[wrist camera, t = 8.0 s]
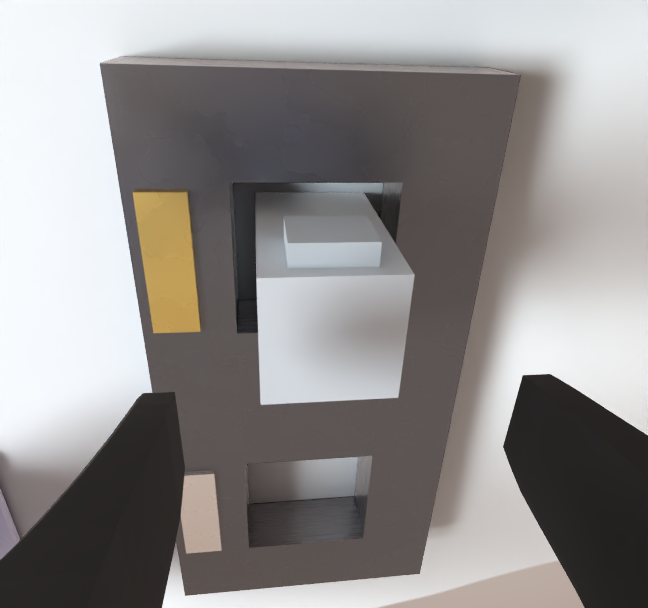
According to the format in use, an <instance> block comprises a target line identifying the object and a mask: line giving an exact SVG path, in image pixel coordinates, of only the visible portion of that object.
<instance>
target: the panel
mask: <svg viewBox="0 0 648 608" xmlns="http://www.w3.org/2000/svg"><path fill="white" fill-rule="evenodd" d="M100 68H101V74H102V80H103V87H104V93H105V99H106V105H107V112H108V118H109V124H110V130H111V136H112V143H113V149H114V155H115V161H116V168H117V174H118V180H119V186H120V193H121V199H122V205H123V211H124V217H125V224H126V230H127V236H128V242H129V249H130V255H131V261H132V267H133V274H134V280H135V286H136V292H137V298H138V305H139V311H140V317H141V323H142V330H143V336H144V342H145V348H146V355H147V361H148V367H149V373H150V379H151V386H152V392H153V393H163V392H175V396H176V404H177V411H178V419H179V426H180V434H181V441H182V449H183V456H184V464H185V474H184V485H183V497H182V507H181V517H180V522H179V527H178V532H177V537H176V541H177V548H178V554H179V560H180V566H181V573H182V579H183V585H184V591H185V596H186V595H197V594H208V593H218V592H229V591H240V590H250V589H261V588H272V587H283V586H293V585H304V584H315V583H325V582H336V581H347V580H357V579H368V578H379V577H390V576H400V575H411V574H420V570H421V565H422V560H423V555H424V550H425V545H426V540H427V535H428V530H429V526H430V521H431V516H432V511H433V506H434V501H435V496H436V491H437V486H438V481H439V476H440V471H441V466H442V461H443V456H444V452H445V447H446V442H447V437H448V432H449V427H450V422H451V417H452V412H453V407H454V402H455V397H456V392H457V387H458V383H459V378H460V373H461V368H462V363H463V358H464V353H465V348H466V343H467V338H468V333H469V328H470V323H471V318H472V313H473V309H474V304H475V299H476V294H477V289H478V284H479V279H480V274H481V269H482V264H483V259H484V254H485V249H486V244H487V240H488V235H489V230H490V225H491V220H492V215H493V210H494V205H495V200H496V195H497V190H498V185H499V180H500V175H501V170H502V166H503V161H504V156H505V151H506V146H507V141H508V136H509V131H510V126H511V121H512V116H513V111H514V106H515V101H516V97H517V92H518V87H519V82H520V77H521V75H519V74H514V73H510V72H505V71H501V70H496V69H492V68H486V67H452V66H419V65H385V64H351V63H317V62H283V61H249V60H215V59H181V58H147V57H118V58H115V59H112V60H108V61H105V62H102V63H100ZM233 182H236V183H383V194H382V205H381V216H380V219H381V221H382V223H383V224H384V226H385V228H386V229H387V231H388V232H389V234H390V236H391V237H392V239H393V241H394V242H395V244H396V245H397V247H398V249H399V250H400V252H401V253H402V255H403V257H404V258H405V260H406V262H407V263H408V265H409V266H410V268H411V270H412V271H413V273H414V274H415V275H414V283H413V290H412V298H411V305H410V313H409V321H408V328H407V336H406V343H405V351H404V358H403V366H402V373H401V381H400V389H399V396H398V398H383V399H364V400H345V401H326V402H306V403H287V404H268V405H261V403H260V373H259V344H258V315H257V300H239V295H238V275H237V256H236V237H235V217H234V198H233ZM345 457H358V464H357V475H356V486H355V497H343V498H330V499H316V500H303V501H289V502H276V503H262V504H249V488H248V469H247V464H252V463H267V462H283V461H299V460H314V459H330V458H345Z"/></svg>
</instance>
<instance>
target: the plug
mask: <svg viewBox="0 0 648 608" xmlns="http://www.w3.org/2000/svg"><path fill="white" fill-rule="evenodd" d="M255 209H256V285H257V315H258V344H259V373H260V403H261V405H268V404H287V403H306V402H326V401H345V400H364V399H383V398H398V396H399V389H400V381H401V373H402V366H403V358H404V351H405V343H406V336H407V328H408V321H409V313H410V305H411V298H412V290H413V283H414V275H415V274H414V273H413V271H412V270H411V268H410V266H409V265H408V263H407V262H406V260H405V258H404V257H403V255H402V253H401V252H400V250H399V249H398V247H397V245H396V244H395V242H394V241H393V239H392V237H391V236H390V234H389V232H388V231H387V229H386V228H385V226H384V224H383V223H382V221H381V219H380V218H379V216H378V215H377V213H376V211H375V210H374V208H373V207H372V205H371V203H370V202H369V200H368V198H367V197H366V195H365V194H364V192H280V193H255Z"/></svg>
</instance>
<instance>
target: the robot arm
mask: <svg viewBox="0 0 648 608" xmlns="http://www.w3.org/2000/svg"><path fill="white" fill-rule="evenodd" d="M503 448H504V451H505V453H506V456H507V458H508V461H509V464H510V466H511V469H512V472H513V474H514V476H515V479H516V481H517V484H518V486H519V488H520V491H521V493H522V495H523V497H524V498H525V500H526V502H527V504H528V506H529V508H530V509H531V511H532V513H533V515H534V517H535V519H536V520H537V522H538V524H539V526H540V528H541V529H542V531H543V533H544V535H545V536H546V538H547V540H548V542H549V544H550V545H551V547H552V549H553V551H554V553H555V554H556V556H557V558H558V560H559V561H560V563H561V565H562V567H563V569H564V570H565V572H566V574H567V576H568V577H569V579H570V581H571V583H572V585H573V586H574V588H575V590H576V592H577V593H578V596H579V597H580V599H581V601H582V603H583V605H584V607H585V608H648V435H646V434H644V433H643V432H641V431H640V430H638V429H636V428H635V427H633V426H632V425H630V424H629V423H627V422H626V421H624V420H622V419H621V418H619V417H618V416H616V415H615V414H613V413H612V412H610V411H608V410H607V409H605V408H604V407H602V406H601V405H599V404H598V403H596V402H595V401H593V400H592V399H590V398H588V397H587V396H585V395H584V394H582V393H581V392H579V391H577V390H576V389H574V388H573V387H571V386H569V385H568V384H566V383H565V382H563V381H561V380H559V379H558V378H556V377H554V376H552V375H550V374H544V375H523V377H522V381H521V384H520V388H519V391H518V395H517V399H516V402H515V406H514V410H513V413H512V417H511V420H510V424H509V428H508V431H507V435H506V439H505V442H504V446H503ZM184 474H185V464H184V456H183V449H182V441H181V434H180V426H179V419H178V411H177V404H176V396H175V392H163V393H143V394H142V395H141V396H140V397H139V398H138V399H137V400H136V401H135V403H134V404H133V406H132V407H131V408H130V410H129V411H128V413H127V414H126V415H125V417H124V418H123V420H122V421H121V422H120V424H119V425H118V426H117V428H116V429H115V430H114V432H113V433H112V434H111V436H110V437H109V438H108V440H107V441H106V442H105V443H104V445H103V446H102V447H101V449H100V450H99V451H98V452H97V453H96V455H95V456H94V457H93V458H92V460H91V461H90V462H89V463H88V465H87V466H86V467H85V468H84V470H83V471H82V472H81V473H80V475H79V476H78V477H77V478H76V479H75V480H74V482H73V483H72V484H71V485H70V486H69V487H68V489H67V490H66V491H65V492H64V493H63V494H62V495H61V496H60V497H59V499H58V500H57V501H56V502H55V503H54V504H53V505H52V506H51V508H50V509H49V510H48V511H47V512H46V513H45V514H44V515H43V517H42V518H41V519H40V520H39V521H38V522H37V523H36V524H35V525H34V526H33V527H32V528H31V529H30V530H29V531H28V532H27V533H26V535H25V536H24V537H23V538H22V539H21V540H20V538H19V535H18V533H17V530H16V528H15V525H14V522H13V520H12V517H11V515H10V512H9V510H8V507H7V504H6V502H5V499H4V497H3V494H2V491H1V489H0V608H162V604H163V599H164V594H165V590H166V585H167V580H168V575H169V571H170V566H171V561H172V556H173V551H174V546H175V542H176V537H177V532H178V527H179V522H180V517H181V507H182V497H183V485H184Z"/></svg>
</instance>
